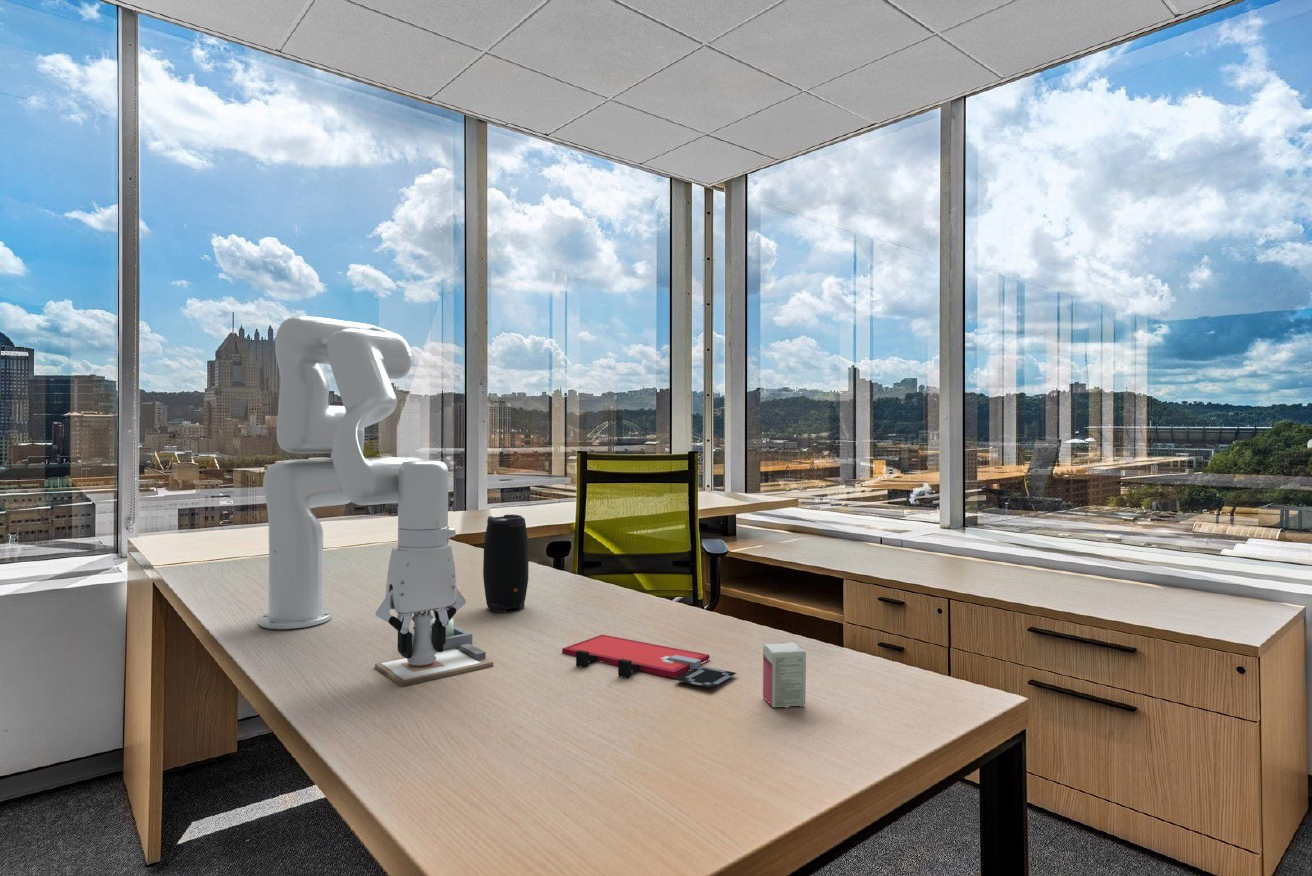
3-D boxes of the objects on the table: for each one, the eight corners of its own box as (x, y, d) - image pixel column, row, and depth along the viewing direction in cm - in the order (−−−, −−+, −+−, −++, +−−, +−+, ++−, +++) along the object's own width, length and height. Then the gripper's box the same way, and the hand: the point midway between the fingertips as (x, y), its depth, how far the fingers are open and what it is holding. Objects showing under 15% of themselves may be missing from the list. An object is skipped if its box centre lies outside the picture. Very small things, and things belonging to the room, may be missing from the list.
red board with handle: (705, 698, 103) (750, 671, 116) (705, 678, 104) (750, 653, 116) (547, 662, 120) (602, 642, 132) (547, 645, 120) (602, 626, 132)
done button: (423, 636, 126) (423, 619, 125) (447, 632, 128) (447, 615, 128) (433, 642, 122) (433, 625, 122) (458, 638, 125) (458, 620, 125)
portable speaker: (529, 612, 150) (530, 518, 149) (483, 614, 147) (484, 519, 147) (526, 602, 158) (526, 513, 158) (482, 604, 156) (482, 514, 155)
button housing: (409, 646, 126) (409, 631, 126) (452, 637, 131) (452, 624, 131) (427, 657, 120) (427, 642, 120) (472, 648, 125) (472, 634, 125)
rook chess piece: (427, 667, 111) (428, 616, 111) (401, 665, 112) (401, 614, 112) (441, 658, 116) (442, 609, 116) (416, 656, 117) (416, 607, 116)
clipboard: (374, 667, 115) (375, 657, 114) (462, 649, 124) (462, 640, 124) (401, 686, 106) (401, 675, 106) (493, 665, 116) (493, 655, 116)
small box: (794, 696, 104) (795, 641, 104) (806, 707, 100) (806, 651, 100) (761, 697, 104) (762, 643, 103) (771, 709, 99) (772, 652, 99)
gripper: (462, 531, 122) (461, 638, 122) (360, 540, 111) (359, 657, 111) (483, 536, 116) (481, 649, 117) (377, 547, 105) (376, 670, 106)
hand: (421, 652), depth 114 cm, fingers open, 4 cm apart
